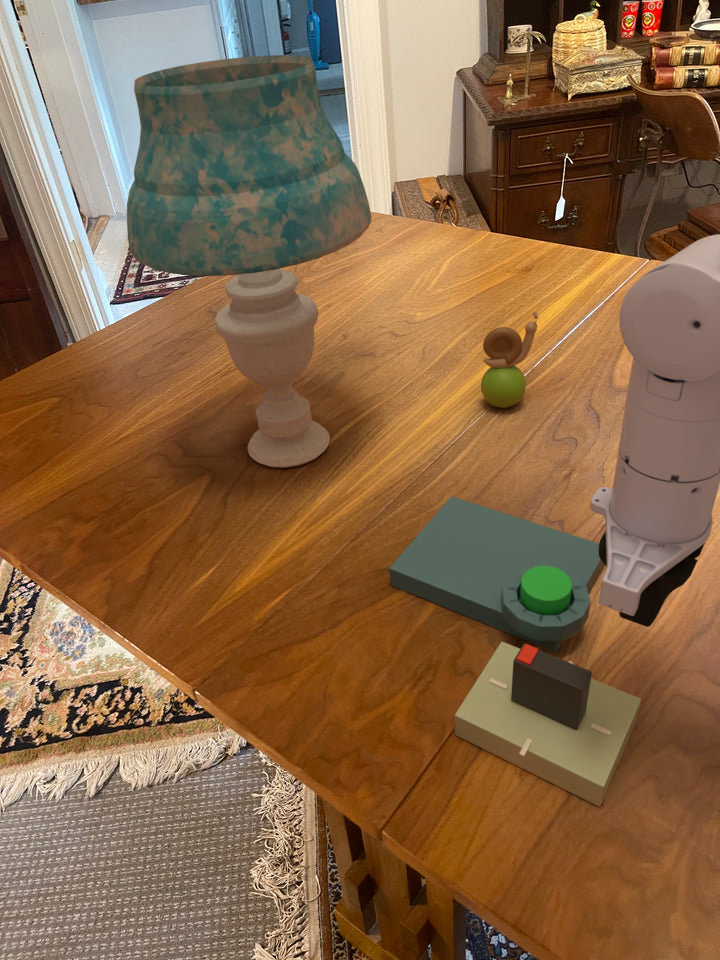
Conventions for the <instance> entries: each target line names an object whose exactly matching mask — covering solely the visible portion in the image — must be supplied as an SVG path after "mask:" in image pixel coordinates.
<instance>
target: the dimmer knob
mask: <svg viewBox="0 0 720 960" xmlns="http://www.w3.org/2000/svg"><path fill="white" fill-rule="evenodd" d="M519 649H520V651H519V652H518V654H517V656H516V657H515V659H514V660H513V676H512V692H511V701H513V702H516V703H518V704H520V705H522V706H524V707H527V708H529V709H531V710H533V711H535V712H537V713H540V714H542V715H544V716H546V717H548V718H551V719H553V720H555V721H557V722H559V723H562V724H564V725H566V726H568V727H570V728H573V729H575V730H577V729H578V727H579V725H580V723H581V721H582V719H583V717H584V715H585V713H586V707H587V701H588V695H589V688H590V682H591V678H592V674H593V672H592V671H591V670H589V669H586V668H584V667H581V666H579V665H577V664H574V663H573V664H572V663H569V661H566V660H564V659H562V658H559V657H557V656H555V655H552V654H549V653H547V652H544V651H542V650H541V649H539V648H537V647H535V646H532V645H530V644H527V643H523V644H522V646H520V648H519Z"/></svg>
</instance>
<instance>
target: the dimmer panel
mask: <svg viewBox="0 0 720 960" xmlns="http://www.w3.org/2000/svg"><path fill="white" fill-rule="evenodd" d="M520 649H521V648H519V647H517V646H515V645H512V644H510V643H507V642H504V641H501V642H500V643H499V645H498V646H497V648H496V649H495V651H494V652H493V654H492V655H491V657H490V658H489V660H488V662H487V663H486V665H485V666H484V668H483V669H482V671H481V672H480V674H479V676H478V678H477V679H476V680H475V682H474V684H473V685H472V687H471V689H470V690H469V691H468V693H467V694H466V696H465V698H464V699H463V701H462V702H461V704H460V706H459V707H458V709H457V710H456V712H455V714H454V735H455V736H457V737H458V738H460V739H462V740H465V741H466V742H468V743H470V744H472V745H474V746H476V747H478V748H481V749H483V750H485V751H487V752H488V753H491V754H492V755H494V756H496V757H498V758H501V759H502V760H505V761H507V762H508V763H510V764H513V765H514V766H517V767H518V768H521V769H522V770H525V771H526V772H529V773H531V774H532V775H535V776H537V777H539V778H541V779H543V780H545V781H547V782H548V783H551V784H553V785H555V786H557V787H559V788H561V789H562V790H565V791H567V792H569V793H571V794H572V795H574V796H577V797H579V798H581V799H583V800H585V801H587V802H589V803H591V804H593V805H595V806H597V807H601V806H602V804H603V801H604V799H605V797H606V794H607V792H608V789H609V787H610V784H611V782H612V780H613V777H614V775H615V773H616V770H617V768H618V765H619V763H620V761H621V758H622V756H623V753H624V752H625V749H626V747H627V744H628V742H629V739H630V737H631V735H632V732H633V729H634V727H635V725H636V723H637V720H638V716H639V712H640V707H641V703H642V698H640V697H638V696H636V695H632V694H631V693H628V692H625V691H623V690H620V689H619V688H617V687H613V686H611V685H609V684H606V683H604V682H601V681H599V680H597V679H594V678H592V677H591V682H590V688H589V695H588V701H587V707H586V713H585V715H584V717H583V719H582V721H581V723H580V725H579V727H578V729H577V730H575V729H573V728H570V727H568V726H566V725H564V724H562V723H559V722H557V721H555V720H553V719H551V718H548V717H546V716H544V715H542V714H540V713H537V712H535V711H533V710H531V709H529V708H527V707H524V706H522V705H520V704H518V703H516V702H513V701H511V692H512V676H513V660H514V659H515V657H516V656H517V654H518V652H519V651H520ZM568 662H569V663H572V664H574V662H573V661H571V660H568Z"/></svg>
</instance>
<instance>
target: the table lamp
mask: <svg viewBox="0 0 720 960" xmlns="http://www.w3.org/2000/svg"><path fill="white" fill-rule="evenodd" d="M133 92H134V96H135V100H136V104H137V110H138V118H139V122H140V124H139V125H140V134H139V135H140V136H139V145H138V150H137V155H136V159H135V163H134V164H135V165H134V168H133V175H134V176H133V178H134V180H133V182H132V184H131V186H130V188H129V190H128V194H127V201H126V228H127V231H126V232H127V242H128V248H129V251H130V253H131V255H132V257H133V258H134V259H135V260H136V261H137V262H139V263H140V264H141V265H143V266H146V267H147V268H150V269H152V270H155V271H159V272H163V273H167V274H173V275H180V276H191V277H192V276H197V277H220V276H221V277H222V276H223V277H224V276H234V277H232V278H231V279H229V280H228V281H227V283H226V284H225V293H226V295H227V297H228V298H229V299H230V300H231V301H230V303H227V304H226V305H225V306H224V307H222V308H221V309H220V310H219V311H218V313H217V314H216V316H215V328H216V331H217V333H218V334H219V336H220V337H221V338H222V339H223V340H224V341H225V344H226V347H227V351H228V353H229V356H230V359H231V360H232V362H233V364H234V365H235V367H236V369H237V370H238V372H240V374H241V375H243V376H244V377H245V378H246V379H248V380H249V381H251V382H253V383H254V384H255V383H256V384H258V385H261V386H262V387H263V388H265V390H266V392H265V393H264V394H263V398H262V399H263V401H261V402H260V403H259V404H258V406H257V407H256V409H255V415H256V420H257V426H258V429H257V430H256V431H255V432H254V433H253V434H252V436H251V438H250V440H249V441H248V444H247V453H248V455H249V457H250V458H251V459H252V460H254V461H255V462H257V463H259V464H260V465H263V466H266V467H270V468H276V469H288V468H295V467H301V466H303V465H305V464H307V463H310V462H312V461H314V460H316V459H317V458H318V457H319V456H320V455H321V454H323V453H324V452H325V451H326V450H327V448H328V447H329V444H330V443H331V441H330V440H331V437H330V433H329V431H328V430H327V429H326V428H325V427H324V426H323V425H322V424H320V423H319V422H317V421H315V420H313V417H312V411H311V404H310V402H309V400H308V399H307V398H305V397H304V396H302V395H300V394H299V391H297V390H296V389H295V388H294V387H293V384H294V382H295V380H297V378H299V377H300V376H301V375H302V374H303V373H304V372H305V371H306V370H307V368H308V366H309V365H310V363H311V360H312V358H313V354H314V348H315V326H316V324H317V323H318V319H319V309H318V306H317V304H316V301H315V300H313V299H312V298H311V297H309V296H307V295H306V294H302V293H297V292H296V291H295V290H296V288H297V286H298V278H297V276H296V275H295V273H294V272H292V271H289V270H286V269H283V268H289V267H293V266H297V265H300V264H303V263H309V262H311V261H314V260H317V259H320V258H323V257H325V256H329V255H330V254H333V253H335V252H338V251H339V250H342V249H343V248H345V247H347V246H349V245H351V244H353V242H355V241H356V240H358V239H359V238H361V236H363V234H364V233H365V232H366V231H367V230H368V229H369V227H370V224H371V222H372V214H371V207H370V203H369V199H368V195H367V192H366V191H367V190H366V189H365V185H364V182H363V180H362V179H363V178H362V176H361V173H360V171H359V169H358V167H357V165H356V163H355V161H353V159H352V158H351V157H350V156H349V155H348V154H347V153H346V152H345V149H344V145H343V142H342V140H341V139H340V137H339V136H338V134H337V132H336V131H335V128H334V127H333V125H332V124H331V122H330V120H329V118H328V116H327V114H326V111H325V109H324V107H323V104H322V100H321V96H320V91H319V86H318V80H317V70H316V66H315V63H314V61H313V59H312V57H308V56H303V55H291V54H288V55H287V54H281V55H280V54H276V55H275V54H273V55H256V56H244V57H242V56H241V57H233V58H232V57H231V58H223V59H215V60H214V59H213V60H209V61H201V62H195V63H189V64H183V65H178V66H173V67H169V68H164V69H160V70H156V71H152V72H150V73H146V74H144V75H141V76H139V77H137V78H136V79H134V85H133Z"/></svg>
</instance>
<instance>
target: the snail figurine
mask: <svg viewBox="0 0 720 960" xmlns="http://www.w3.org/2000/svg"><path fill="white" fill-rule="evenodd" d="M532 315H533V318H534V321H528V322H527V323H526V324H525V326H524V330H525V333H524V336H523V339H522V337H521V335H520V334H519V333H518V331H516V330H515V329H513V328H511V327H506V326H501V327H500V326H499V327H495V328H494V329H492V330H490V331H489V332H488V333H487V334H486V336H485V338H484V340H483V343H482V349H483V352H484V353H485V355H486V356H487V357H489V358H486V357H485V358H483V359H482V361H483V362H484V364H485V365H487V366H488V367H489V368H488V369H487V370H486V371H485V372H484V374H483V376H482V378H481V382H480V390H481V394H482V396H483V398H484V399H485V401H486V402H487V403H489V404H490V405H491V406H494V407H497V408H501V409H503V408H510V407H513V406H514V405H516V404H517V403H519V402H520V401H521V399H522V398H523V397H524V395H525V392H526V389H527V381H526V380H527V379H526V376H525V375H524V372H523V371H522V370H521V369H520V368H519V367H517V366H516V365H518V364H520V363H522V362H523V361H524V360H525V359H526V358H527V356H528V354H529V353H530V351H531V349H532V345H533V343H534V339H535V336H536V335H535V334H536V332H537V330H538V323H537V321H538V318H539V314H538V311H533V312H532Z"/></svg>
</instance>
